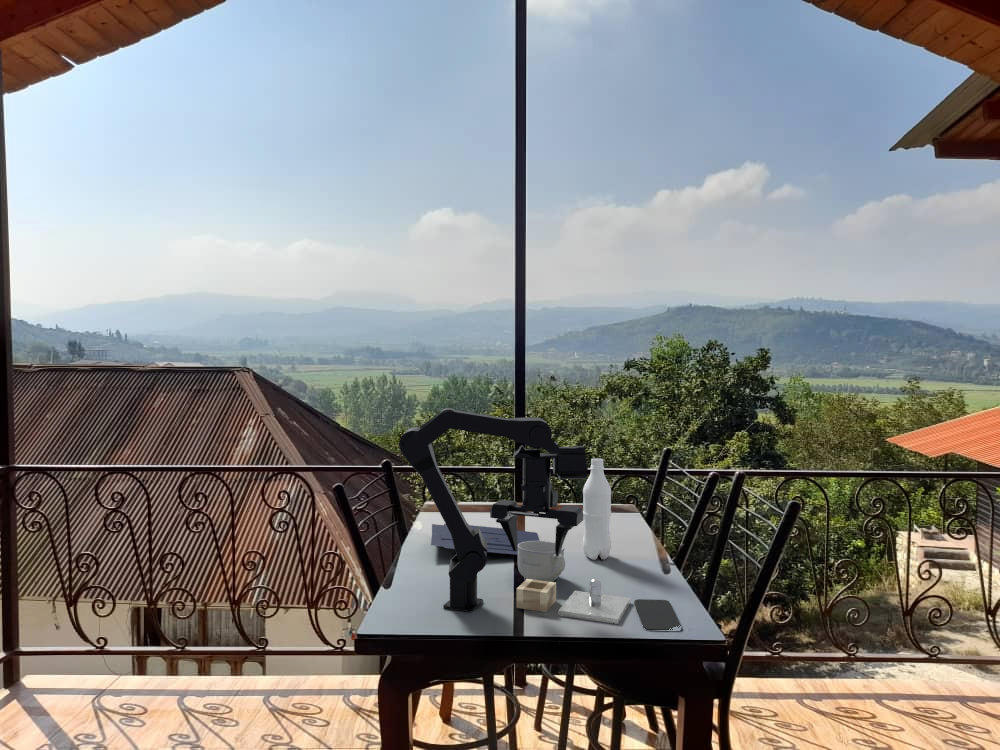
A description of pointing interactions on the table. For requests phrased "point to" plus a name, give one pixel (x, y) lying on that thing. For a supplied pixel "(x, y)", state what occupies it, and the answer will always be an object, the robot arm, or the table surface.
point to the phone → (656, 614)
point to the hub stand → (595, 605)
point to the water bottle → (597, 512)
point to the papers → (493, 536)
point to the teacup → (540, 560)
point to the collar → (536, 595)
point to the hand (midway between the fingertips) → (536, 553)
